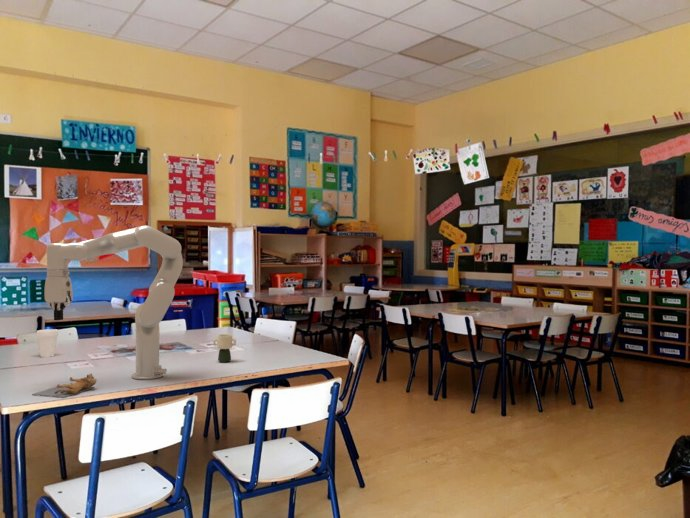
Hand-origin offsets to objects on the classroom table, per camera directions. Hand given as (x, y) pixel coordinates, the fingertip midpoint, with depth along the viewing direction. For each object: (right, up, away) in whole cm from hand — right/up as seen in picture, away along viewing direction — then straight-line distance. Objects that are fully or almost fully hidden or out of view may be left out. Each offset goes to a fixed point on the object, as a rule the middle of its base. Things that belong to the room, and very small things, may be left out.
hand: (58, 319), depth 225 cm
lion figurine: (+8, -23, -11) cm, 27 cm away
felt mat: (+8, -26, -11) cm, 29 cm away
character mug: (+56, -26, +49) cm, 78 cm away
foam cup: (-36, -25, +60) cm, 75 cm away
